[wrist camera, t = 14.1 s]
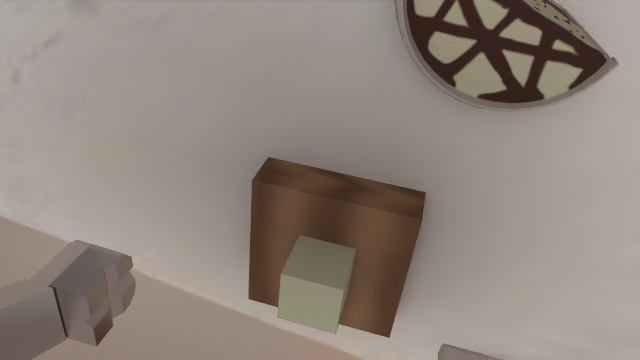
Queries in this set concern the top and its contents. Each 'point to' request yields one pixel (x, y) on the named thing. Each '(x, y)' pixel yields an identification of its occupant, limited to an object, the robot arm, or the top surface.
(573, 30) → the food container
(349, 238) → the walnut base
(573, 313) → the top surface
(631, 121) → the top surface
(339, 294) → the sage block
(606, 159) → the top surface
